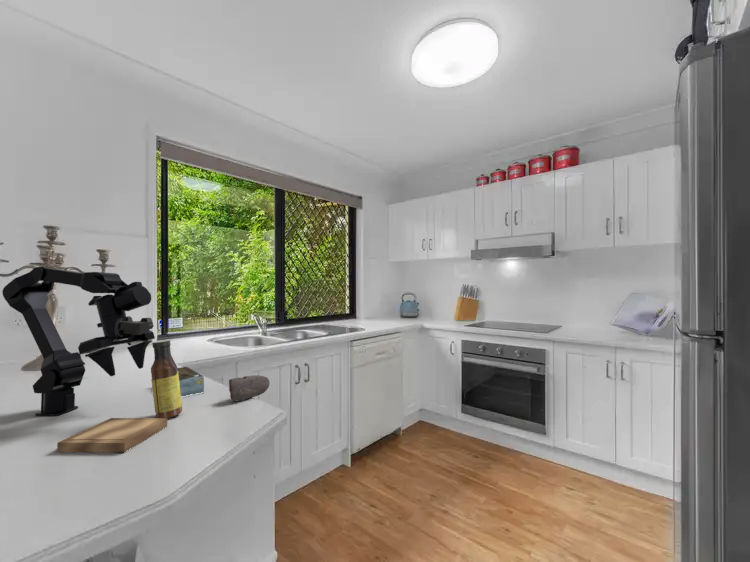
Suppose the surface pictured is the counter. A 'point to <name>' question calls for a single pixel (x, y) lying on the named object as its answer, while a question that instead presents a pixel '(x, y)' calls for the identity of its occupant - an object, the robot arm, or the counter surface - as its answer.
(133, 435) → the podium
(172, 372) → the sauce bottle
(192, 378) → the beverage carton
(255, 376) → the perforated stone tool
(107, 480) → the counter surface
